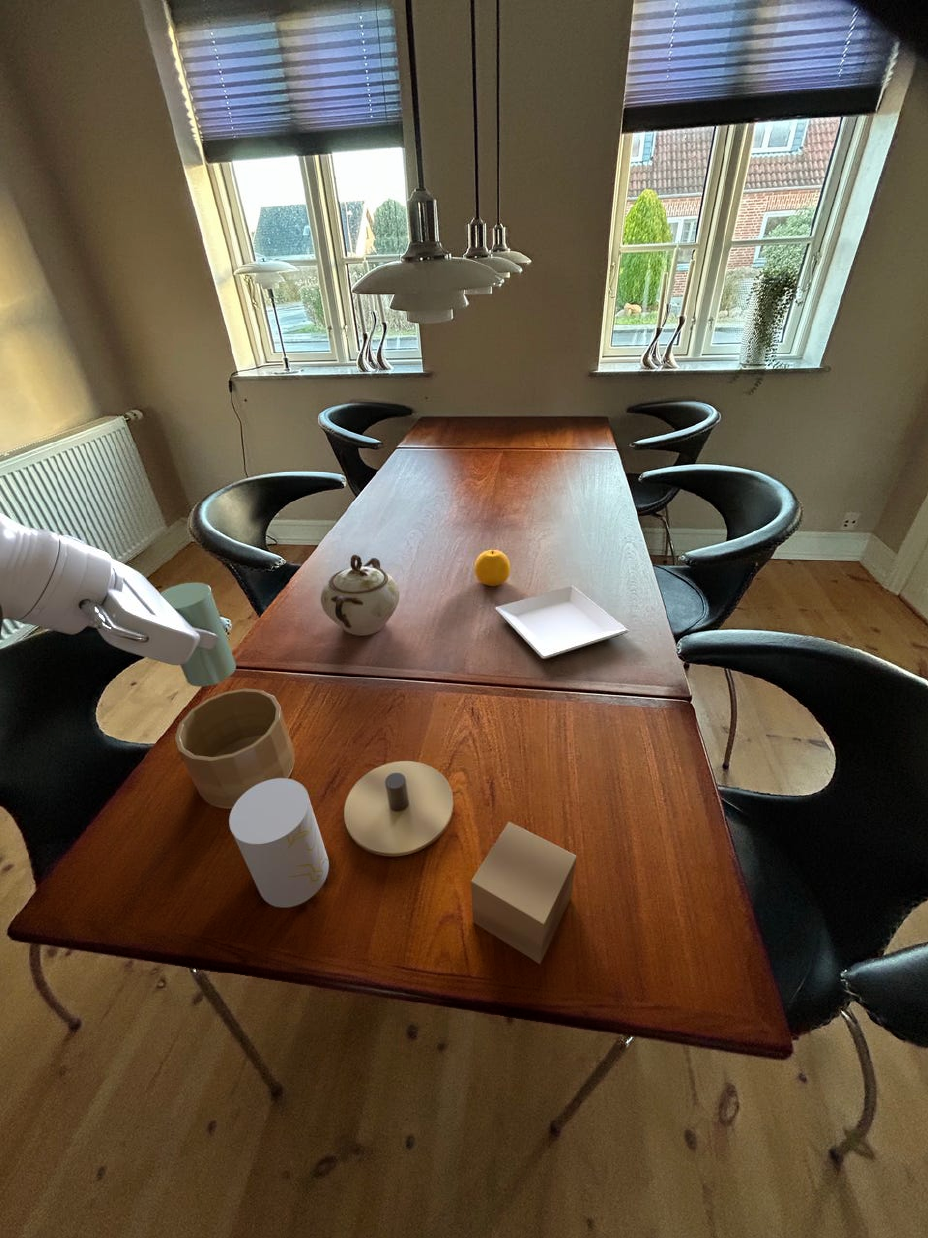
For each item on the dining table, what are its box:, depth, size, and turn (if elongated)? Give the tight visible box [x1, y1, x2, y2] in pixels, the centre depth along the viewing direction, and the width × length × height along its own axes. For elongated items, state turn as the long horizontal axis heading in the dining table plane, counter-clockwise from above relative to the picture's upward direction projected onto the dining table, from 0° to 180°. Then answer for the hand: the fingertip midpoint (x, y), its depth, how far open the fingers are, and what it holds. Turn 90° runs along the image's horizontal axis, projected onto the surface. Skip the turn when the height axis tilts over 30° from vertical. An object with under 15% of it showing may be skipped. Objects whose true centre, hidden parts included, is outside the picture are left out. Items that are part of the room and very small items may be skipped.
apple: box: [473, 549, 511, 587], centre depth 116 cm, size 8×8×8 cm
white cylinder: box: [228, 778, 330, 908], centre depth 59 cm, size 8×8×12 cm
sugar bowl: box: [320, 554, 401, 637], centre depth 102 cm, size 20×15×15 cm
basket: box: [174, 688, 296, 810], centre depth 73 cm, size 13×13×10 cm
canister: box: [159, 581, 237, 688], centre depth 62 cm, size 6×6×11 cm
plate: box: [494, 585, 630, 660], centre depth 103 cm, size 19×19×2 cm
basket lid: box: [343, 760, 454, 857], centre depth 68 cm, size 14×14×6 cm
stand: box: [470, 821, 578, 965], centre depth 56 cm, size 8×8×8 cm
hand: (201, 628), depth 62 cm, fingers closed on canister, 6 cm apart
